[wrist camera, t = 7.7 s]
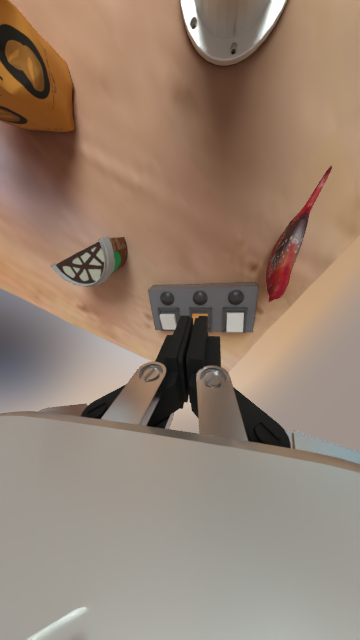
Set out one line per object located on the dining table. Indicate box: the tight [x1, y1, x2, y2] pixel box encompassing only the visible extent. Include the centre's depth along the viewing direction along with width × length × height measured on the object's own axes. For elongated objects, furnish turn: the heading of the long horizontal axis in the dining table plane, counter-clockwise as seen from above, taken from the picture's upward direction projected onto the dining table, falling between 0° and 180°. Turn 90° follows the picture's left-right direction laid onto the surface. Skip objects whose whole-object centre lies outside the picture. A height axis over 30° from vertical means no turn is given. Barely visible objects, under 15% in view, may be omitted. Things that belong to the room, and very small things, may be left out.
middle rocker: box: [192, 314, 208, 325], centre depth 37 cm, size 4×3×1 cm
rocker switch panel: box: [148, 282, 259, 333], centre depth 38 cm, size 10×22×4 cm, turn 95°
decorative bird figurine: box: [266, 166, 332, 302], centre depth 26 cm, size 3×18×10 cm, turn 169°
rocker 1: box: [160, 314, 177, 330], centre depth 38 cm, size 4×3×1 cm
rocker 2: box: [226, 312, 244, 332], centre depth 35 cm, size 4×3×1 cm
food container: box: [51, 237, 127, 286], centre depth 34 cm, size 12×6×10 cm, turn 112°
